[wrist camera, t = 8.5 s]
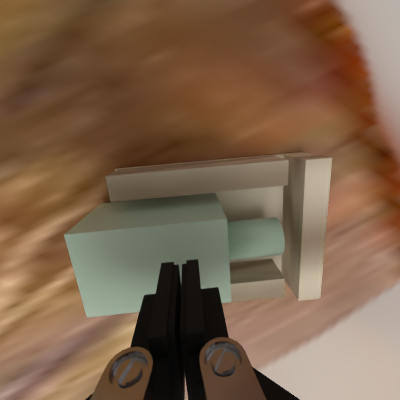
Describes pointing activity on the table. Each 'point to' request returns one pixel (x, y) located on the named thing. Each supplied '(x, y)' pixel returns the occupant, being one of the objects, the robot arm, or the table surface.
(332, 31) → the table surface
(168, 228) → the bottle
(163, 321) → the robot arm
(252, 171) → the cradle
